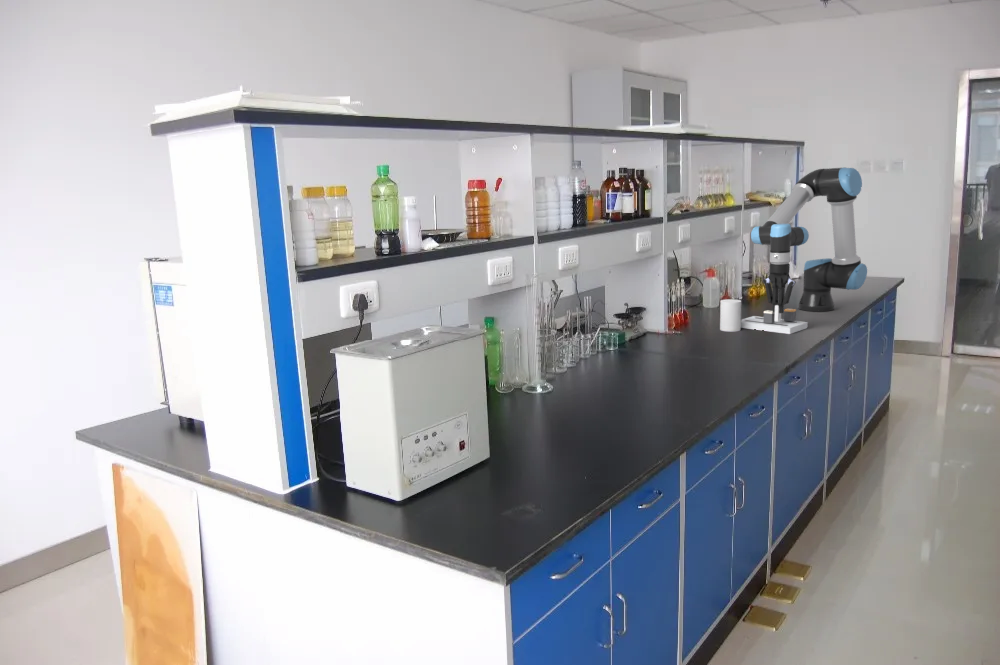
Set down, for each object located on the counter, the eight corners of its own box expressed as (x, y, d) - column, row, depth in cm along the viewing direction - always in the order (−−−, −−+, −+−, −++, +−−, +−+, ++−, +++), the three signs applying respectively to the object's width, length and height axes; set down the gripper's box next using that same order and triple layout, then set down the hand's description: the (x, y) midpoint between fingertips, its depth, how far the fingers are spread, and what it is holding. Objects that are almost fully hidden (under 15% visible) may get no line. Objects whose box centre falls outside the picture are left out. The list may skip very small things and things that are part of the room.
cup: (738, 327, 307) (738, 299, 305) (742, 331, 299) (743, 302, 297) (718, 327, 308) (718, 299, 306) (722, 331, 300) (722, 302, 298)
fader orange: (787, 319, 304) (787, 308, 303) (795, 320, 301) (796, 309, 300) (783, 320, 302) (784, 309, 301) (792, 321, 300) (792, 310, 299)
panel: (753, 321, 318) (753, 315, 317) (807, 327, 300) (807, 321, 300) (735, 327, 308) (735, 320, 308) (789, 334, 291) (790, 327, 290)
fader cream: (766, 321, 302) (767, 310, 301) (775, 322, 300) (775, 310, 299) (763, 322, 300) (763, 311, 300) (771, 323, 298) (772, 311, 297)
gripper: (759, 263, 295) (758, 320, 300) (791, 264, 285) (788, 324, 290) (768, 261, 300) (767, 317, 304) (799, 262, 290) (797, 321, 295)
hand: (777, 320), depth 297 cm, fingers closed
